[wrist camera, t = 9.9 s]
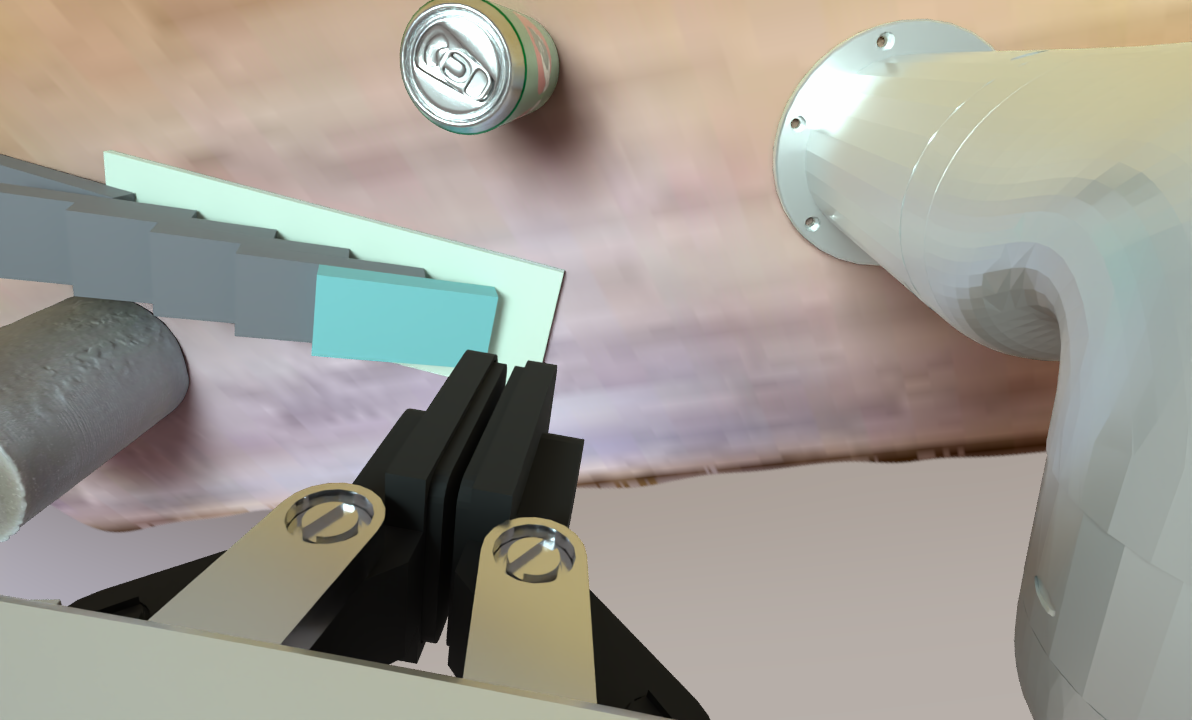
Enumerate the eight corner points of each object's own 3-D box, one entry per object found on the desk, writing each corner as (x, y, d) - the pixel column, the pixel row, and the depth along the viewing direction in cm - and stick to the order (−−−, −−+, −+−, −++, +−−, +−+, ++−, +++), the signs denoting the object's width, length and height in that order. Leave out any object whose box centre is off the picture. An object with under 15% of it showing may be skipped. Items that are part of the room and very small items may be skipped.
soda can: (500, -9, 34) (432, -43, 23) (578, 55, 35) (548, 51, 24) (451, 76, 36) (366, 82, 25) (526, 134, 37) (476, 164, 26)
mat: (564, 270, 40) (563, 273, 39) (534, 394, 44) (533, 398, 43) (111, 150, 39) (103, 151, 38) (121, 288, 42) (114, 291, 42)
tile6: (112, 197, 38) (-49, 150, 38) (118, 277, 40) (-35, 232, 40) (134, 193, 39) (-21, 148, 39) (138, 270, 41) (-9, 227, 41)
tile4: (273, 238, 38) (65, 210, 34) (270, 314, 40) (74, 296, 37) (276, 229, 39) (76, 201, 36) (274, 304, 42) (84, 285, 38)
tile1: (498, 297, 39) (316, 274, 35) (484, 369, 41) (311, 355, 37) (494, 287, 40) (319, 264, 36) (480, 357, 42) (314, 343, 38)
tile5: (190, 218, 38) (-29, 188, 34) (192, 296, 40) (-15, 276, 36) (196, 210, 39) (-15, 180, 35) (198, 286, 41) (-1, 266, 38)
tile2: (425, 278, 38) (235, 253, 35) (414, 351, 41) (234, 336, 37) (423, 268, 40) (241, 243, 36) (413, 340, 42) (239, 323, 38)
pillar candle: (28, 354, 45) (-233, 484, 32) (89, 261, 42) (-174, 361, 28) (152, 442, 48) (-41, 596, 34) (219, 360, 44) (34, 495, 31)
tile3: (348, 257, 38) (149, 231, 35) (342, 333, 40) (153, 315, 37) (349, 248, 40) (157, 222, 36) (343, 322, 42) (161, 304, 38)
